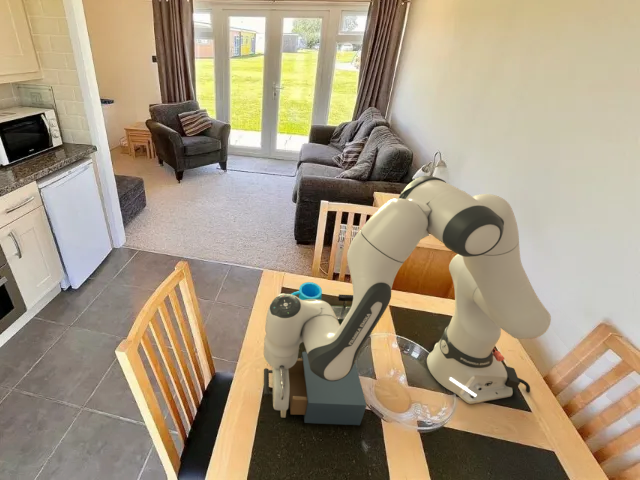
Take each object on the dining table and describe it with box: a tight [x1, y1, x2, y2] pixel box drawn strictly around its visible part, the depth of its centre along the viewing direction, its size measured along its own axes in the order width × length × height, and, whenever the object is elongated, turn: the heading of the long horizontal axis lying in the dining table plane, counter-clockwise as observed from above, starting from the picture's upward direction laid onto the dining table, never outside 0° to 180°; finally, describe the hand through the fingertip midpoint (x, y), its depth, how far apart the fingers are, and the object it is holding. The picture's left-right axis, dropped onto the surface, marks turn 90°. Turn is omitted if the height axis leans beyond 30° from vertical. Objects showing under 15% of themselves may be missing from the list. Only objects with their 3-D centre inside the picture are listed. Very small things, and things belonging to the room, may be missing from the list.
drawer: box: [263, 357, 308, 418], centre depth 87 cm, size 18×13×7 cm
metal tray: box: [332, 294, 353, 324], centre depth 110 cm, size 7×5×11 cm
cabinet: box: [300, 351, 368, 426], centre depth 87 cm, size 15×14×9 cm
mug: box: [290, 281, 323, 300], centre depth 115 cm, size 12×8×8 cm
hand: (277, 382), depth 86 cm, fingers closed, pressing on drawer
